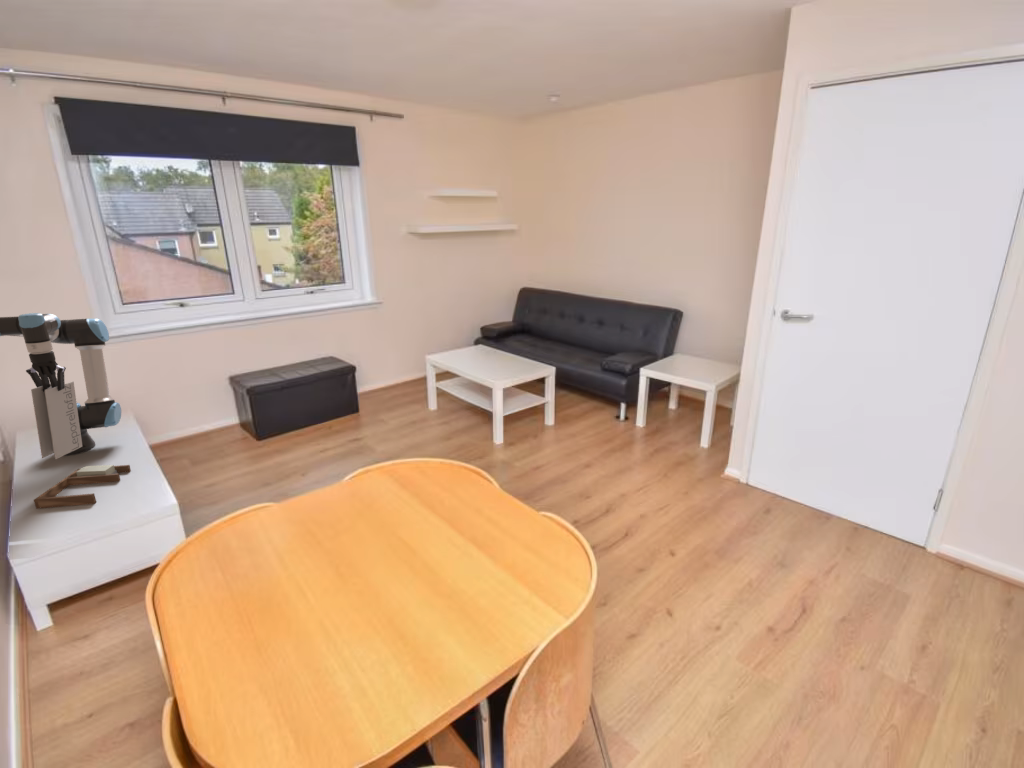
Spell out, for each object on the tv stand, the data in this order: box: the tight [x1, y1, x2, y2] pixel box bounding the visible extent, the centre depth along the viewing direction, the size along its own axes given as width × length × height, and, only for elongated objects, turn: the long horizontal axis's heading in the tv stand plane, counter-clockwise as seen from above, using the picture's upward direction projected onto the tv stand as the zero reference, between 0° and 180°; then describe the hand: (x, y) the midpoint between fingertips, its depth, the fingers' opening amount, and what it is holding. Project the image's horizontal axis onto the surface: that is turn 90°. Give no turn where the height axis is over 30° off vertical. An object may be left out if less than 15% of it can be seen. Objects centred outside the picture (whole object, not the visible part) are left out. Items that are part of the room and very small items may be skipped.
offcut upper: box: [76, 464, 115, 477], centre depth 222 cm, size 6×12×3 cm, turn 94°
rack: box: [33, 464, 132, 510], centre depth 214 cm, size 28×21×4 cm
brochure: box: [30, 381, 82, 460], centre depth 212 cm, size 14×6×30 cm, turn 3°
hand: (56, 406), depth 210 cm, fingers closed
